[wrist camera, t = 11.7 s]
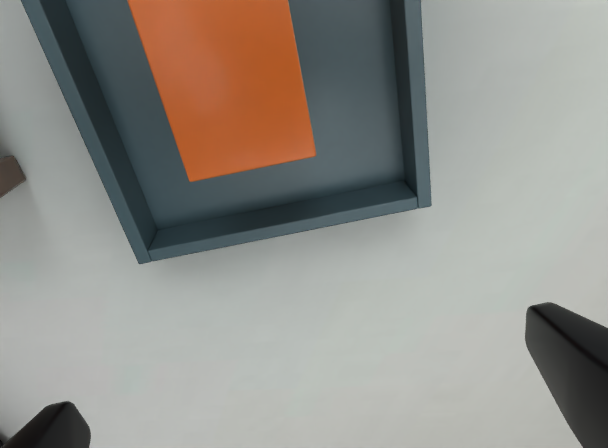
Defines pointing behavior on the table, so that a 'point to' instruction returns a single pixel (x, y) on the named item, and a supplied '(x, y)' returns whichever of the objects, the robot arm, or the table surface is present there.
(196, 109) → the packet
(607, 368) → the robot arm
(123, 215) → the tray
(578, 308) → the table surface
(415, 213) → the table surface
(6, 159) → the shelf
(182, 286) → the table surface
